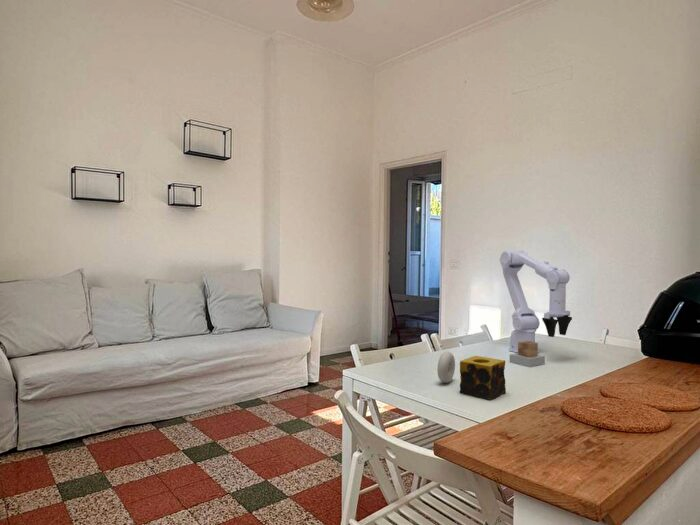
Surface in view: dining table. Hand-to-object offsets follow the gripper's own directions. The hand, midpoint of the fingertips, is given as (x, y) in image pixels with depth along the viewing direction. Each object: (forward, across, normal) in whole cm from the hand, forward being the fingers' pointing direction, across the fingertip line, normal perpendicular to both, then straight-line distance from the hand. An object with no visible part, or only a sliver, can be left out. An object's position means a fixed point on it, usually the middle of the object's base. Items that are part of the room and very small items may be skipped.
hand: (556, 335), depth 178 cm
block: (+7, -13, +4) cm, 15 cm away
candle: (+10, -57, -12) cm, 59 cm away
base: (+10, -13, +4) cm, 17 cm away
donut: (+10, -58, +2) cm, 59 cm away
